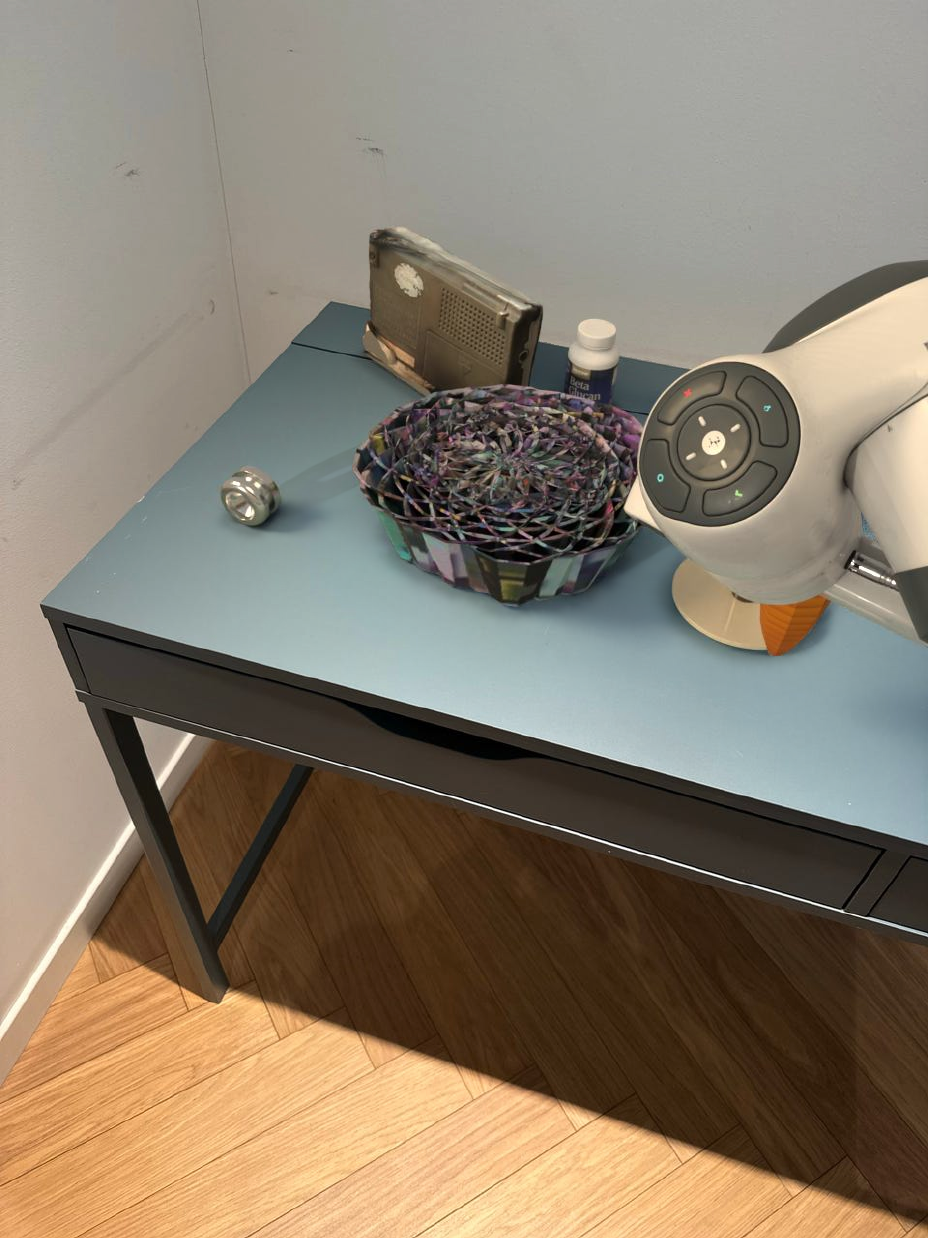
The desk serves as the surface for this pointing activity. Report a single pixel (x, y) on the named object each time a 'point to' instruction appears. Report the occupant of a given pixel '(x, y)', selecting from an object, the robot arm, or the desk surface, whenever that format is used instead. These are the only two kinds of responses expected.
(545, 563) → the decorative bowl
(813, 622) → the carrot
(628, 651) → the desk surface
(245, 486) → the metal grooved wheel
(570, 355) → the pill bottle
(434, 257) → the radio
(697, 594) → the pot lid
